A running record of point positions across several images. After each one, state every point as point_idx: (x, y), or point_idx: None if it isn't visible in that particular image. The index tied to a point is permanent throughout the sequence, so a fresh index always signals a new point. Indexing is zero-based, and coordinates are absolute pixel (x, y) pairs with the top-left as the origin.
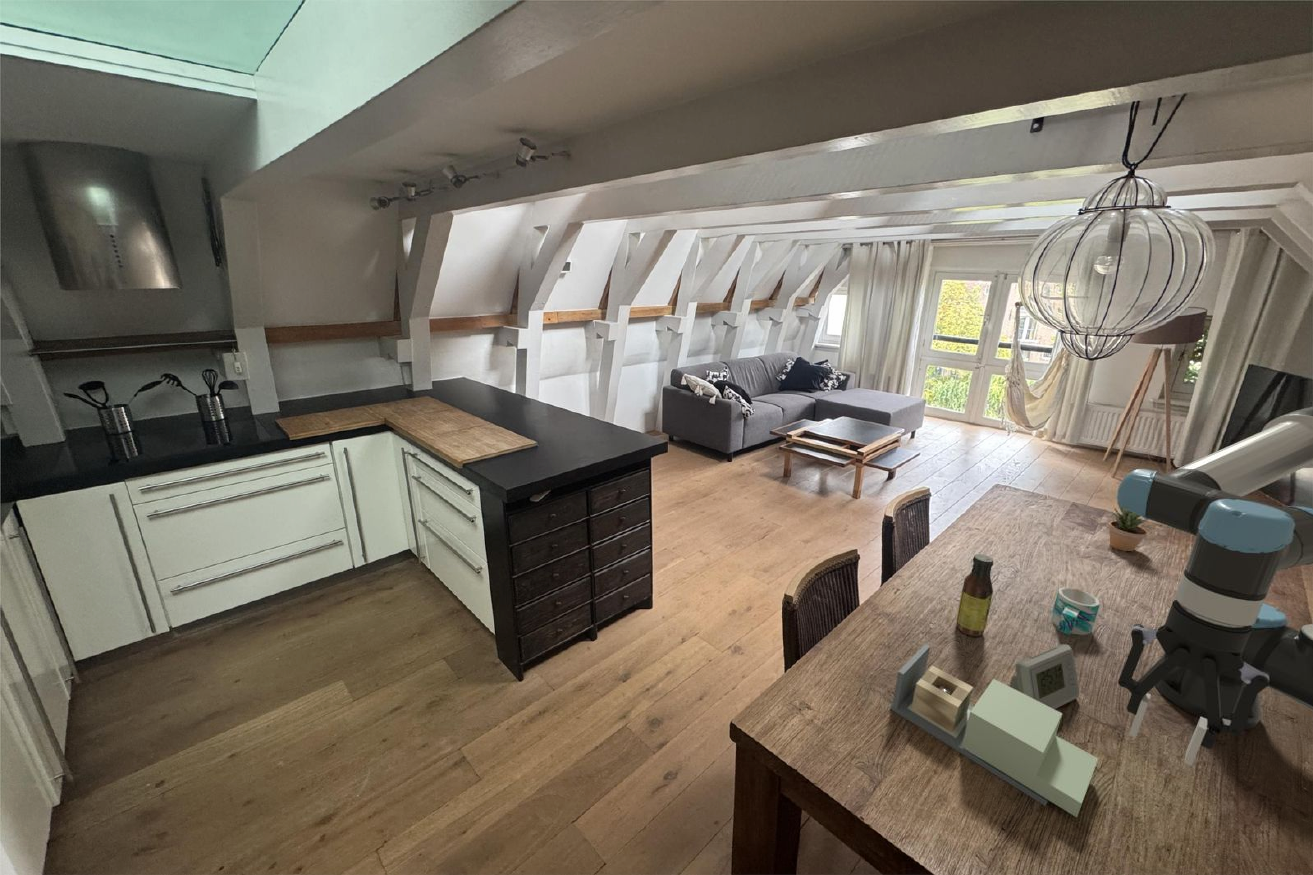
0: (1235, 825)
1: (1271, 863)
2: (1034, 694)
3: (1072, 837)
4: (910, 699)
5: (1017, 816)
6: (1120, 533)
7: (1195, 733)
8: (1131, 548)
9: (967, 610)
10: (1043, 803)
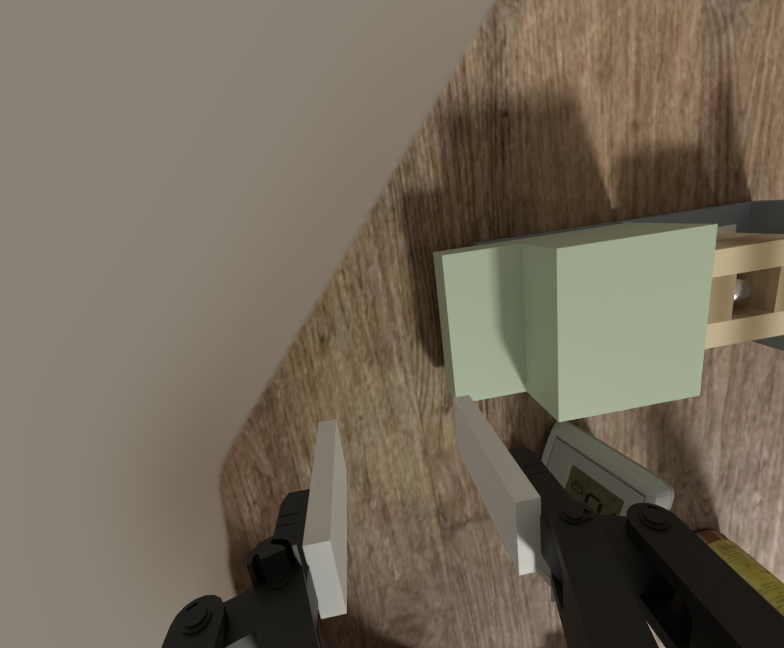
0: (279, 482)
1: (228, 452)
2: (589, 460)
3: (422, 217)
4: None
5: (497, 170)
6: None
7: (335, 512)
8: None
9: (766, 578)
10: (478, 242)
